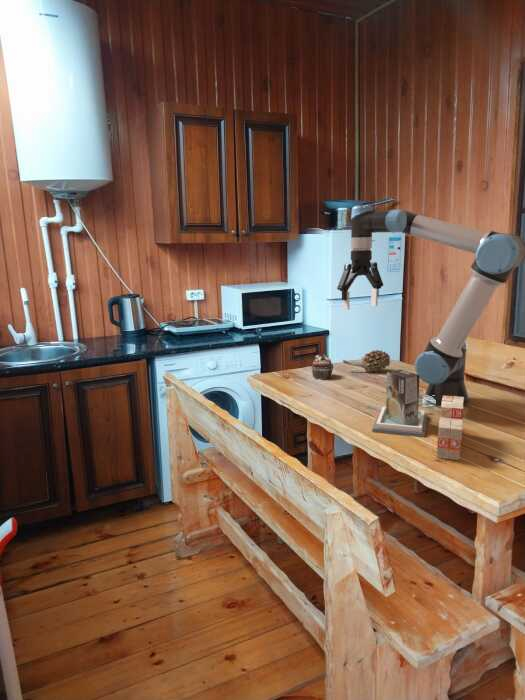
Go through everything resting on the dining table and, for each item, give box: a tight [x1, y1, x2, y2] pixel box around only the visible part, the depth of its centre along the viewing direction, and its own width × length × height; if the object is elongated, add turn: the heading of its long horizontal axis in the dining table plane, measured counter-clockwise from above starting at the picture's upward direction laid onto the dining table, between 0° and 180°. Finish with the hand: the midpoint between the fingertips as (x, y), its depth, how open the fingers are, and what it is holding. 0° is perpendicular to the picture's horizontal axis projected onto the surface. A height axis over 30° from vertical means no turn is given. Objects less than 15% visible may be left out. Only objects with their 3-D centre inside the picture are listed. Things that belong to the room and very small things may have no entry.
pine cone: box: [342, 349, 391, 373], centre depth 238 cm, size 22×10×10 cm, turn 94°
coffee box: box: [385, 369, 420, 425], centre depth 172 cm, size 9×6×16 cm
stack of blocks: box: [436, 396, 464, 461], centre depth 154 cm, size 21×6×12 cm, turn 158°
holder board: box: [372, 406, 428, 438], centre depth 173 cm, size 16×19×2 cm
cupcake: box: [310, 353, 334, 381], centre depth 231 cm, size 10×10×10 cm
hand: (360, 307), depth 196 cm, fingers open, 13 cm apart
